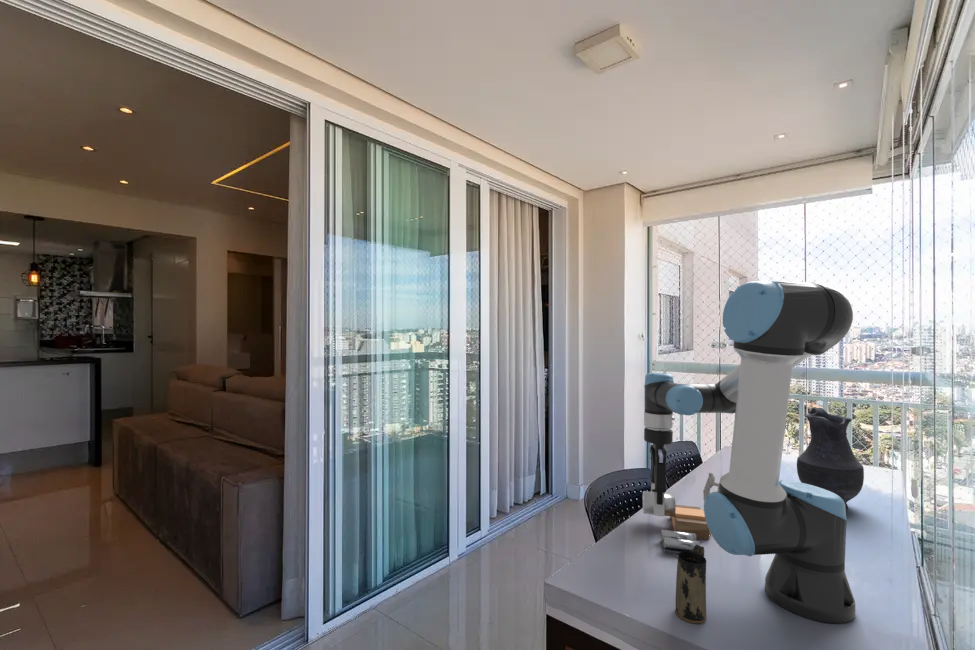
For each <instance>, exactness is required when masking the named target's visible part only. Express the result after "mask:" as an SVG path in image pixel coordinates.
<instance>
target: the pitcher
mask: <svg viewBox="0 0 975 650" xmlns="http://www.w3.org/2000/svg"><path fill="white" fill-rule="evenodd" d="M805 417H806V419H807V420H808V424H809V429H810V430H809V431H810V441H809V444H808V445H807V447H806V448H805V450H804V451H803V452H802V453H801V454H799V455H798V456H797V458H796V459H797V460H796V473H797V476H798V479H799V482H801V483H805V484H809V485H813V486H816V487H819V488H822V489H825V490H828V491H830V492H833V493H835V494H837V495H838V496H840V497H841V498H842V499H843V501H844V502H845V508H846V511H847V510H848V509H849V506H848V504H847V503H848V502H849V501H851V500H852V499H854V498H855V497H857V496H858V495H859V494H860V492H861V490H863V489H862V488H863V485H864V480H865V472H864V471H865V468H864V466H863V464H862V463H860V461H859V460H858V459H857V457H856V455H855V453H854V452H853V450H852V447H851V445H850V442H849V440H848V436H847V428H848V426H849V424H850V422H852V420H853V418H850V417H846V416H841V415H835V414H831V413H828V412H827V411H826V410H825V408H822V407H816V406H815V407H811V409H810V411H809V414H808V413H807V414H805Z"/></svg>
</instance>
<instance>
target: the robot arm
mask: <svg viewBox="0 0 975 650" xmlns="http://www.w3.org/2000/svg"><path fill="white" fill-rule="evenodd" d="M723 307H724V308H723V311H722V326H723V328H724V333H725V335H726V336H727V337H728V338H729V339H730V340H731V341H733V350H734V351H735V352H736V353H737V354H738V355H739V357H740V364H739V365H737V366H736V367H735V368H734V369H732V370H731V371H730V372H729V373H727V374H726V375H725V376H724V377H723V378H722V379H721V380H718V382H717V383H676V382H674V377H673V375H672V373H665V372H663V373H662V372H648V373H647V374H645V376H644V377H645V378H644V385H643V387H644V412H643V414H644V415H643V416H644V417H643V425H644V427H645V428H644V430H643V431H644V432H643V434H644V435H643V436H644V437H643V439H644V441H645V442H647V443H649V444H651V445H650V448H649V452H650V476H649V477H650V482H651V484H650V492H654V515H653V516H656V517H657V516H658V517H665V516H664V505H665V493H667V488H666V485H667V484H666V483H667V476H666V473H667V469H666V468H667V466H666V465H667V450H666V448H665V447H664V446H665V445H671V444H673V440H674V439H673V435H674V432H673V430H672V429H673V421H675V420H676V418H675V417H674V416H673V413H675V414H678V415H680V416H682V415H684V416H693V415H696V414H734V422H733V431H732V443H731V451H730V459H729V461H730V462H729V471H728V472H726V473H724V474H723V475H721V476H720V478H719V482H720V483H719V491H718V490H717V491H718V492H717V491H713V492H710V494H709V495H708V496H706V498H705V501H704V500H703V502H704V503H703V510H704V514H705V519H706V523H707V526H708V528H709V530H710V532H711V536H712V538H713V540H714V541H715V542H716V544H718V546H719V547H720V548H721V549H722V550H724V552H726V553H728V554H730V555H733V556H747V557H753V556H757V555H758V556H759V555H760V556H762V555H774V557H773V559H772V561H771V563H770V566H769V568H768V570H767V573H766V575H765V578H764V579H765V580H764V589H765V594H767V595H768V597H769V598H770V599H771V600H772V601H774V602H775V603H776V604H777V605H779V606H781V607H782V608H783V609H786V610H787V611H789V612H792V613H794V614H796V615H798V616H801V617H803V618H806V619H807V618H808V619H810V620H814V621H818V622H823V623H829V624H845V623H849V622H851V621H853V620H854V619H855V618H856V602H855V597H854V595H853V592H852V589H851V585H850V583H849V580H848V577H847V574H846V572H845V571H846V569H845V568H846V545H847V544H846V543H847V542H846V540H847V521H848V517H847V514H846V513H847V512H846V511H847V510H846V508H845V502H844V501H843V499H842V498H841V497H840V496H838V495H837V494H835V493H833V492H830V491H828V490H825V489H822V488H819V487H816V486H813V485H809V484H805V483H801V481H795V480H787V479H782V480H780V474H781V468H782V457H783V450H784V442H785V441H784V440H785V431H786V426H787V425H786V424H787V415H788V407H789V399H790V391H791V383H792V372H793V369H794V368H795V367H796V366H798V365H799V364H801V363H802V362H803V361H805V360H806V359H808V358H809V357H811V356H821V355H823V354H824V353H826V352H827V351H829V350H830V349H833V347H835V346H837V344H839V342H840V341H842V340H843V339H844V338H845V337H846V336H847V335H848V333H849V331H850V329H851V326H852V324H853V319H854V311H853V307H852V305H851V303H850V301H849V299H848V297H846V296H845V295H844V293H842V292H841V290H839V289H838V288H836V287H834V286H831V285H828V284H826V283H822V282H821V283H820V282H799V281H797V282H795V281H777V280H770V279H769V280H760V281H759V280H757V281H756V280H755V281H754V280H753V281H748V282H745V283H743V284H741V285H739V286H737V287H736V288H735V290H734V291H733V292H732V293H730V295H729V297H728V299H727V300H726V302H725V305H724V306H723Z"/></svg>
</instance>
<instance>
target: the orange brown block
mask: <svg viewBox="0 0 975 650" xmlns="http://www.w3.org/2000/svg"><path fill="white" fill-rule="evenodd" d="M675 517H680V518H689V519H698V520H706V519H705V514H704V509H701V510H698V509H689V508H680V507H676V511H675ZM675 517H672V521H671V523H672V524H671V525H672V527H673V531H675ZM709 535H710V536H709V537H711V536H712V534H711V532H710V530H709Z"/></svg>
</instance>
